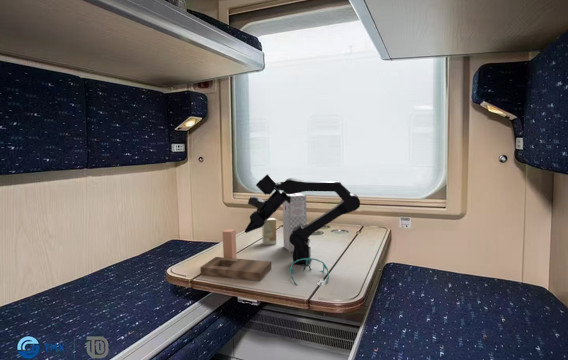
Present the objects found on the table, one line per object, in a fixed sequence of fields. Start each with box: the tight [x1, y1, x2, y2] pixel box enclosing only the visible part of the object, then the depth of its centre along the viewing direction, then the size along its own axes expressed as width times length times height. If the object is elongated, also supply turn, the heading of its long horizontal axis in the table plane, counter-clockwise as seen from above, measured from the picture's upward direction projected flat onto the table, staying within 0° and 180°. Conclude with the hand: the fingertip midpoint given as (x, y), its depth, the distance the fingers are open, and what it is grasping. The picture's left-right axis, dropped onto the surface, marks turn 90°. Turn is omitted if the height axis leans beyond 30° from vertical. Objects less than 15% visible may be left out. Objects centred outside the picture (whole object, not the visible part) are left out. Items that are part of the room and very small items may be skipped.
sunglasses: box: [289, 257, 330, 286], centre depth 126 cm, size 14×15×5 cm
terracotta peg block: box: [222, 228, 238, 259], centre depth 144 cm, size 4×4×13 cm
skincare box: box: [261, 217, 277, 246], centre depth 168 cm, size 6×4×12 cm
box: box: [282, 192, 307, 253], centre depth 159 cm, size 8×8×25 cm
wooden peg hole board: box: [199, 256, 272, 282], centre depth 132 cm, size 24×12×3 cm, turn 73°
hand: (248, 229), depth 143 cm, fingers open, 9 cm apart
